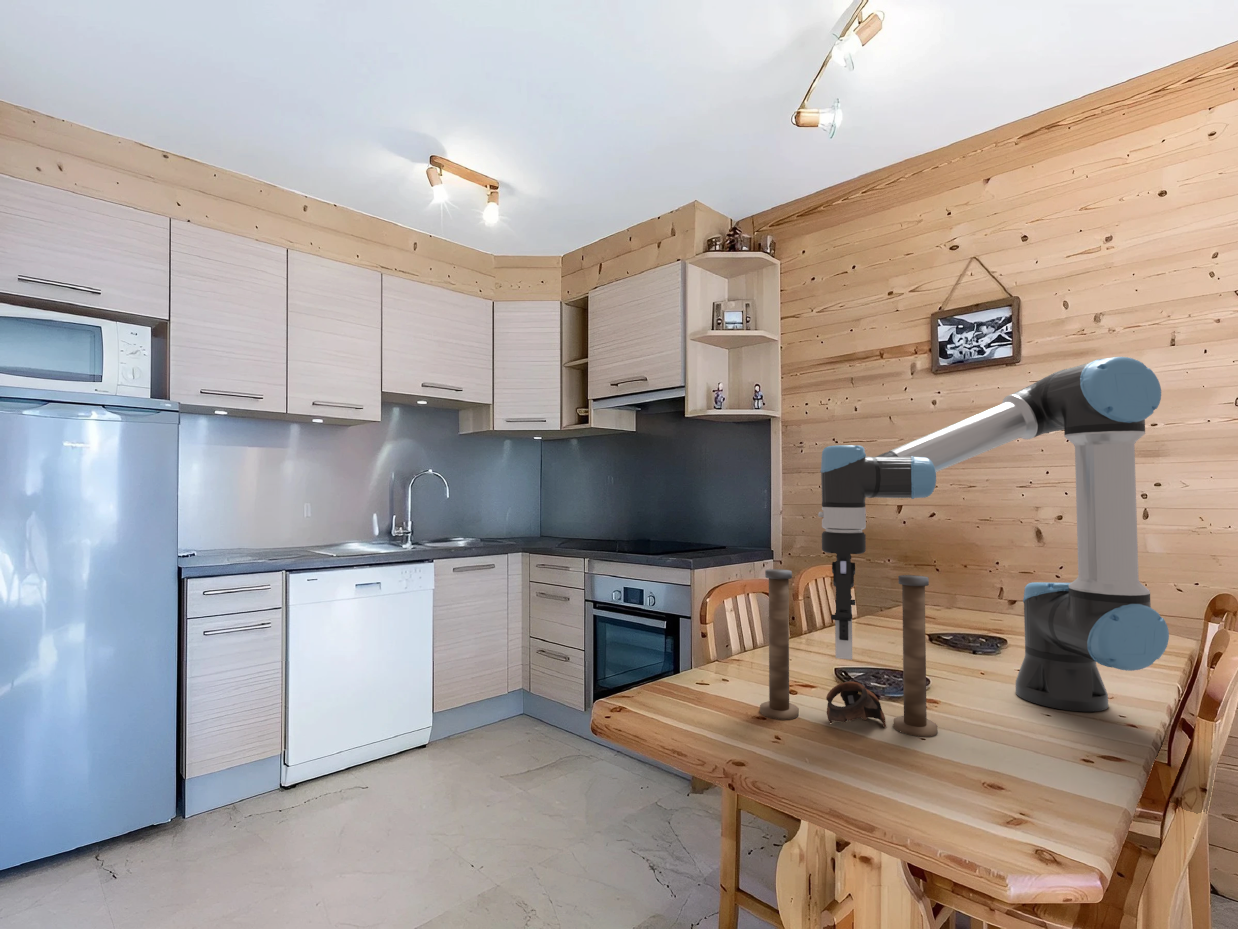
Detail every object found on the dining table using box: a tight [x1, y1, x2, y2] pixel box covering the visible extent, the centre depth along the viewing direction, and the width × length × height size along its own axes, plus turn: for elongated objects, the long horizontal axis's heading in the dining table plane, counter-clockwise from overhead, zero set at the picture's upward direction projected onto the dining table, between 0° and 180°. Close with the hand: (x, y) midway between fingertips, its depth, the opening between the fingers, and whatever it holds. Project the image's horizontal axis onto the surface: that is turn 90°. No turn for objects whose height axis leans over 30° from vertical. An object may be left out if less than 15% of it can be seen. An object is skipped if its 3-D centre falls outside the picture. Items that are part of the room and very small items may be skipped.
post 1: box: [759, 568, 800, 721], centre depth 120 cm, size 7×7×26 cm
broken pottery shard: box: [825, 680, 887, 728], centre depth 116 cm, size 12×10×8 cm
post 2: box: [892, 574, 939, 738], centre depth 113 cm, size 7×7×26 cm
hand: (844, 649), depth 116 cm, fingers open, 13 cm apart
